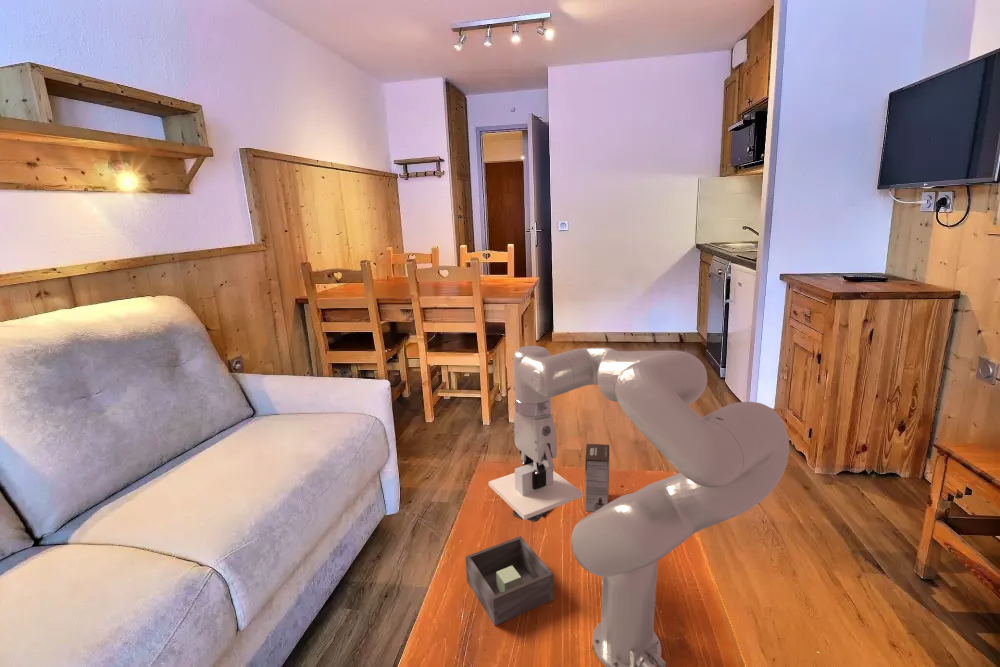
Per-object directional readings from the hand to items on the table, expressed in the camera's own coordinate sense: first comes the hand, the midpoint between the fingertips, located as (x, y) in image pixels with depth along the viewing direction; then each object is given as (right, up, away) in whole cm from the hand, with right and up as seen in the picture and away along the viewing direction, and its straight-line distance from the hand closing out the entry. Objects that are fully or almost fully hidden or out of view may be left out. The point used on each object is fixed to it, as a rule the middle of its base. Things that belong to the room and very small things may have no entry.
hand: (534, 482), depth 107 cm
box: (-6, -24, 0) cm, 25 cm away
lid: (0, -2, 0) cm, 2 cm away
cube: (-6, -23, 0) cm, 24 cm away
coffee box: (+20, -15, +31) cm, 40 cm away
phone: (+3, -16, +31) cm, 35 cm away
